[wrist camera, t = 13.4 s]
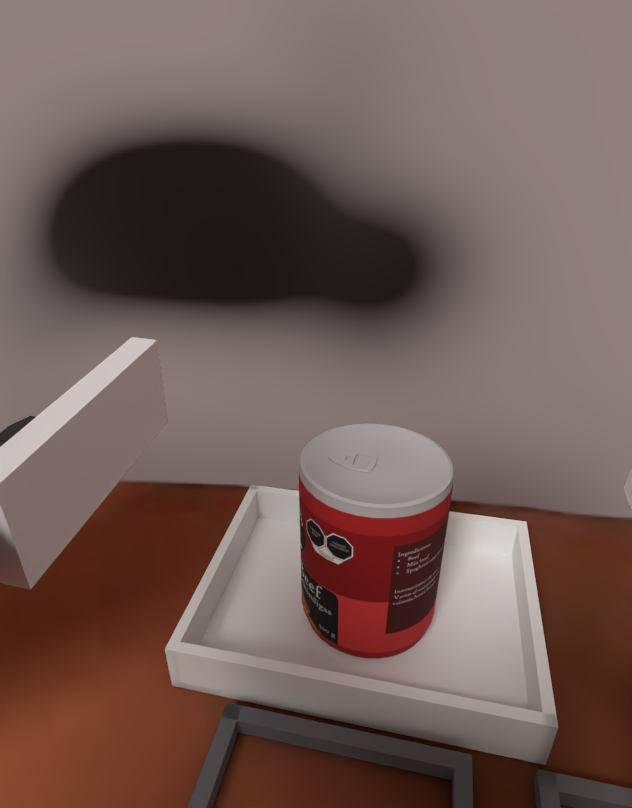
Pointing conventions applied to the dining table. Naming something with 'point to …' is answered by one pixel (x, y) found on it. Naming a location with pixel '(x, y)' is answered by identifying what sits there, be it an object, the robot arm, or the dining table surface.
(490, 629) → the tray
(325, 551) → the canned food
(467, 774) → the rectangular frames
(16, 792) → the dining table surface
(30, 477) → the robot arm
